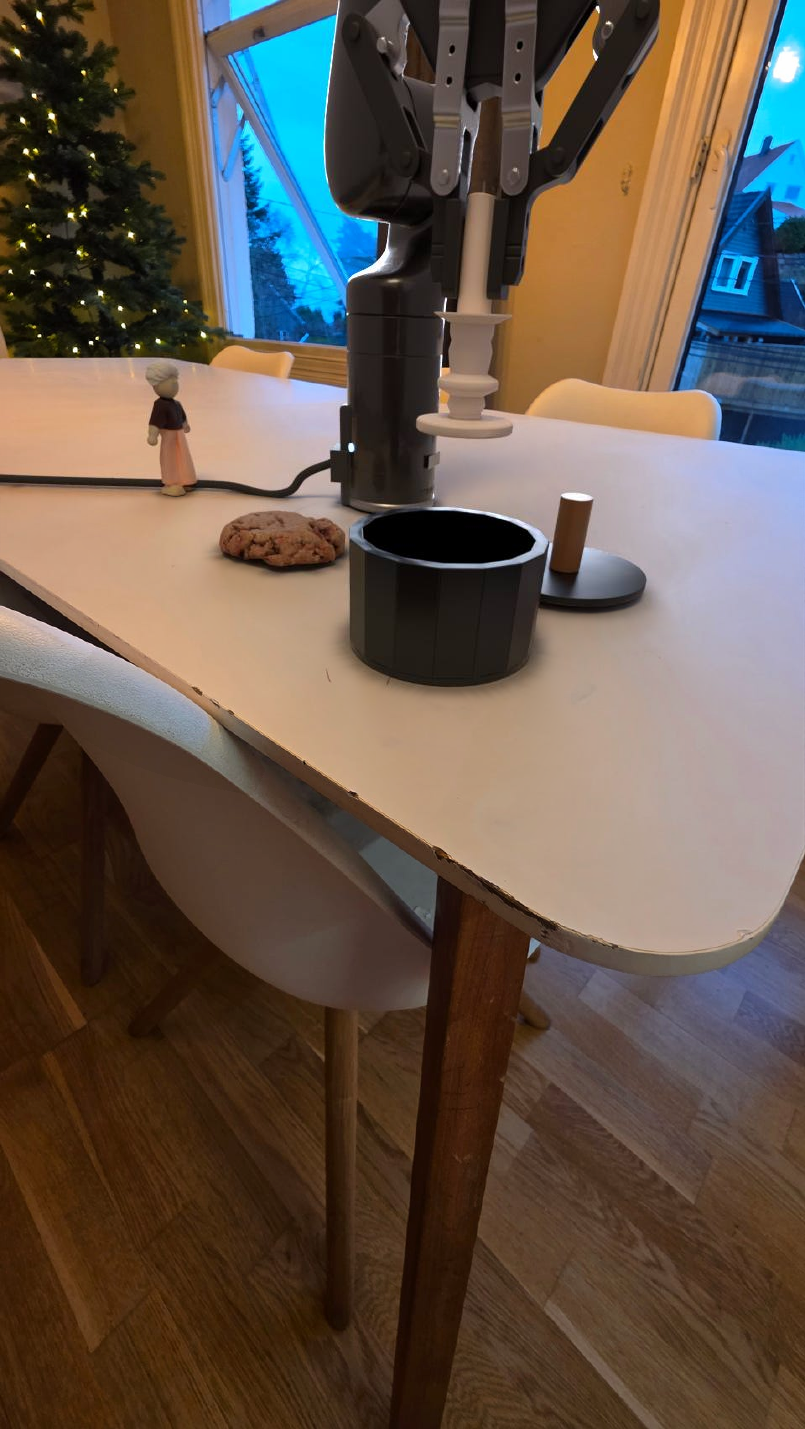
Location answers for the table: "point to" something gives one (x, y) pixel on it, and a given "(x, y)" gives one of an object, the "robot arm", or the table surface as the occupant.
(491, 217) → the candle
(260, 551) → the cookie
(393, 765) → the table surface
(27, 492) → the table surface
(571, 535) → the tin lid
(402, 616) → the tin
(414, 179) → the robot arm
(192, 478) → the grandmother figurine
